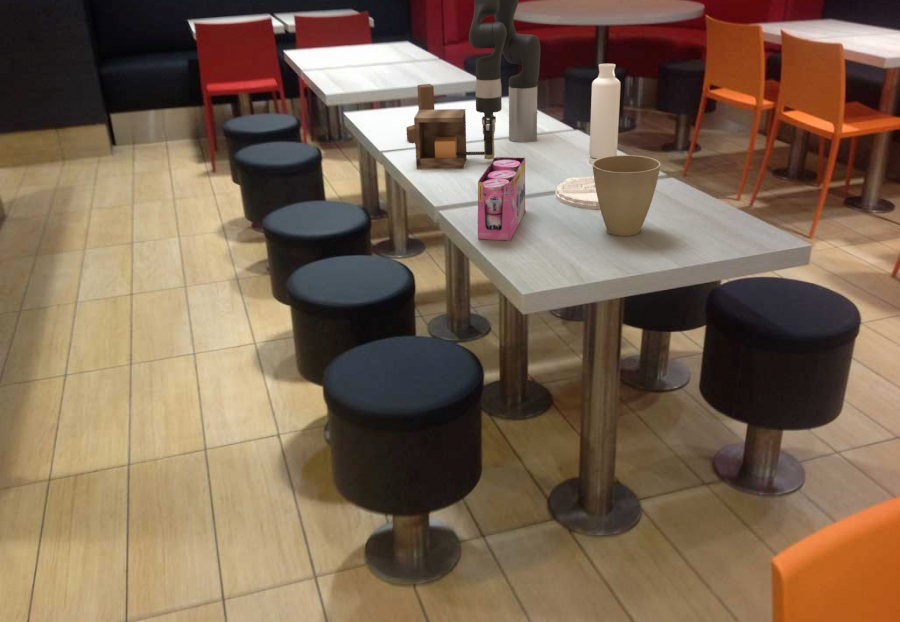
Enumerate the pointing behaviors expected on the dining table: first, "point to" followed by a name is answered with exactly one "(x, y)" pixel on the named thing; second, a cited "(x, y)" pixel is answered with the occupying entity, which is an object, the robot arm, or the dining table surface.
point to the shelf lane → (439, 125)
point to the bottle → (604, 114)
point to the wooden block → (422, 106)
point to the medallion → (578, 193)
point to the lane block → (455, 148)
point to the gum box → (501, 198)
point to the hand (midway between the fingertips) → (489, 152)
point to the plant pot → (625, 191)
